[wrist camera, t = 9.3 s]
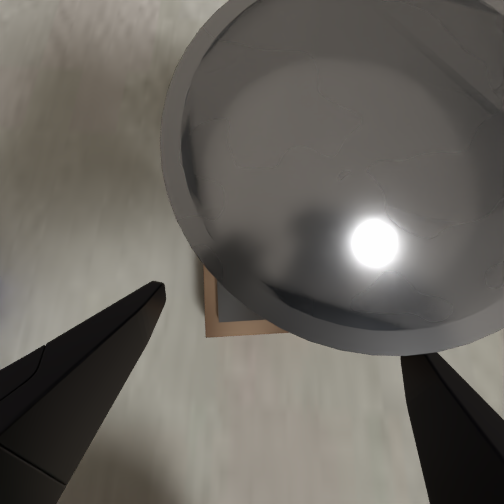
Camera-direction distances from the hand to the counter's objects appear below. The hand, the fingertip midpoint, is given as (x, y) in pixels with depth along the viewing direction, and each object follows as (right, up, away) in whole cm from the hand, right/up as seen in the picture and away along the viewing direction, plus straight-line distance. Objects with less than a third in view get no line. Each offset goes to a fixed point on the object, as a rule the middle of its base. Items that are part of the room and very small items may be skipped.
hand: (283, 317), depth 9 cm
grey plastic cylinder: (+1, +2, +8) cm, 8 cm away
